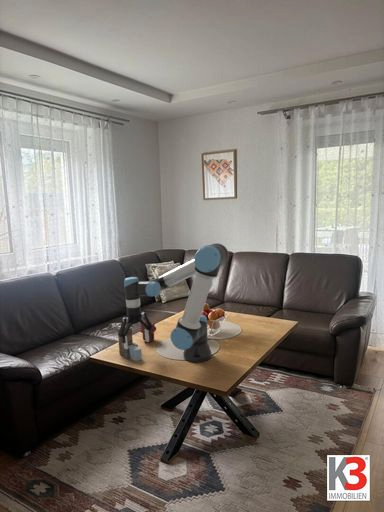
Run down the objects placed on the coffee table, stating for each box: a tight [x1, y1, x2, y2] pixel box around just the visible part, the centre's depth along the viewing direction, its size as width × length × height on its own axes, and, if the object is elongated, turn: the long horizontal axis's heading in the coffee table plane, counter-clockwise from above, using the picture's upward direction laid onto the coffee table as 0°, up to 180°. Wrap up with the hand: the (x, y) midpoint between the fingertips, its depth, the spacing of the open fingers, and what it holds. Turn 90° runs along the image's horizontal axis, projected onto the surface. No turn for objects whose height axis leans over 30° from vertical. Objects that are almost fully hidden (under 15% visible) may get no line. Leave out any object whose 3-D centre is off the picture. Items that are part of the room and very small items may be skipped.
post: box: [116, 326, 139, 360], centre depth 204 cm, size 9×7×15 cm
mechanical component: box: [139, 320, 157, 344], centre depth 225 cm, size 12×10×10 cm
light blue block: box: [128, 344, 143, 362], centre depth 200 cm, size 10×4×6 cm, turn 41°
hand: (136, 344), depth 197 cm, fingers open, 13 cm apart
